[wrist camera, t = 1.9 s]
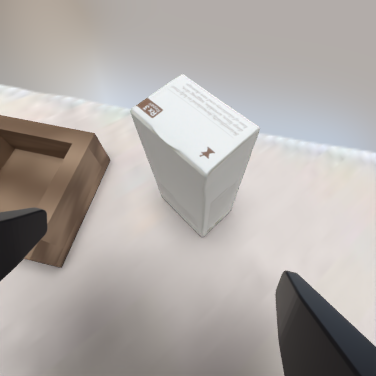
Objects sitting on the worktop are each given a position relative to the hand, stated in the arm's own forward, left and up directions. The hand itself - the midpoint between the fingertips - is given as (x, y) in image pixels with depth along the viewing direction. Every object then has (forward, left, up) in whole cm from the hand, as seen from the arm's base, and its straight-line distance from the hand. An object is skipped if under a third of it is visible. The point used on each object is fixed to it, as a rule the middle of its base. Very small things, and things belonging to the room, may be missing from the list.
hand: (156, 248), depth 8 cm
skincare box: (+7, -2, -13) cm, 15 cm away
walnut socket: (+8, +14, -13) cm, 21 cm away
